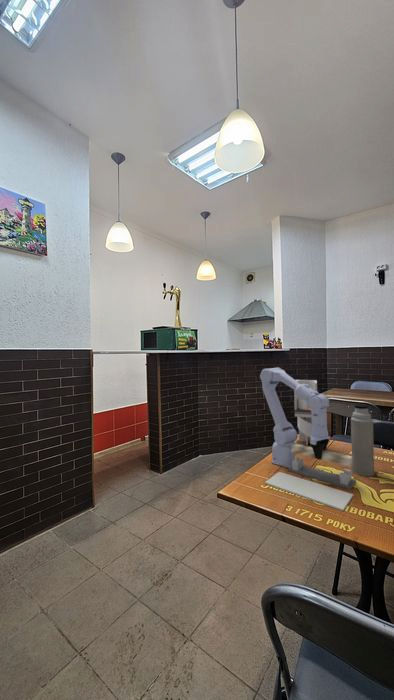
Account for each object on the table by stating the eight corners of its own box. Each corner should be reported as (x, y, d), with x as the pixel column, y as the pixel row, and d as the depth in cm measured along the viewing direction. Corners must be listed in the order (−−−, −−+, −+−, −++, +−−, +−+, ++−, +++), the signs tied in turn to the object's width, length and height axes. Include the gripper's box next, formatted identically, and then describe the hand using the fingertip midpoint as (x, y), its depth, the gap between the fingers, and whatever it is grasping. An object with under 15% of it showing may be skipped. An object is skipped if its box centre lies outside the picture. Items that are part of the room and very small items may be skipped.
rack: (288, 471, 119) (287, 460, 119) (295, 465, 125) (295, 455, 125) (350, 489, 102) (349, 477, 102) (355, 481, 108) (355, 470, 108)
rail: (291, 452, 120) (291, 445, 120) (294, 450, 122) (294, 443, 122) (350, 466, 104) (350, 458, 104) (352, 464, 107) (352, 456, 107)
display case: (297, 444, 151) (295, 379, 151) (318, 446, 147) (316, 380, 147) (295, 451, 141) (294, 382, 141) (318, 454, 137) (316, 383, 137)
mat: (265, 483, 108) (264, 482, 108) (279, 473, 117) (279, 471, 117) (343, 511, 89) (343, 509, 89) (353, 496, 98) (353, 494, 98)
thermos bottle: (374, 470, 117) (372, 404, 117) (374, 478, 111) (372, 408, 111) (352, 466, 122) (351, 402, 122) (351, 473, 115) (349, 406, 115)
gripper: (323, 430, 105) (323, 465, 105) (335, 422, 116) (336, 454, 116) (304, 426, 110) (305, 461, 110) (318, 419, 121) (318, 450, 121)
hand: (319, 457), depth 113 cm, fingers closed on rail, 3 cm apart
